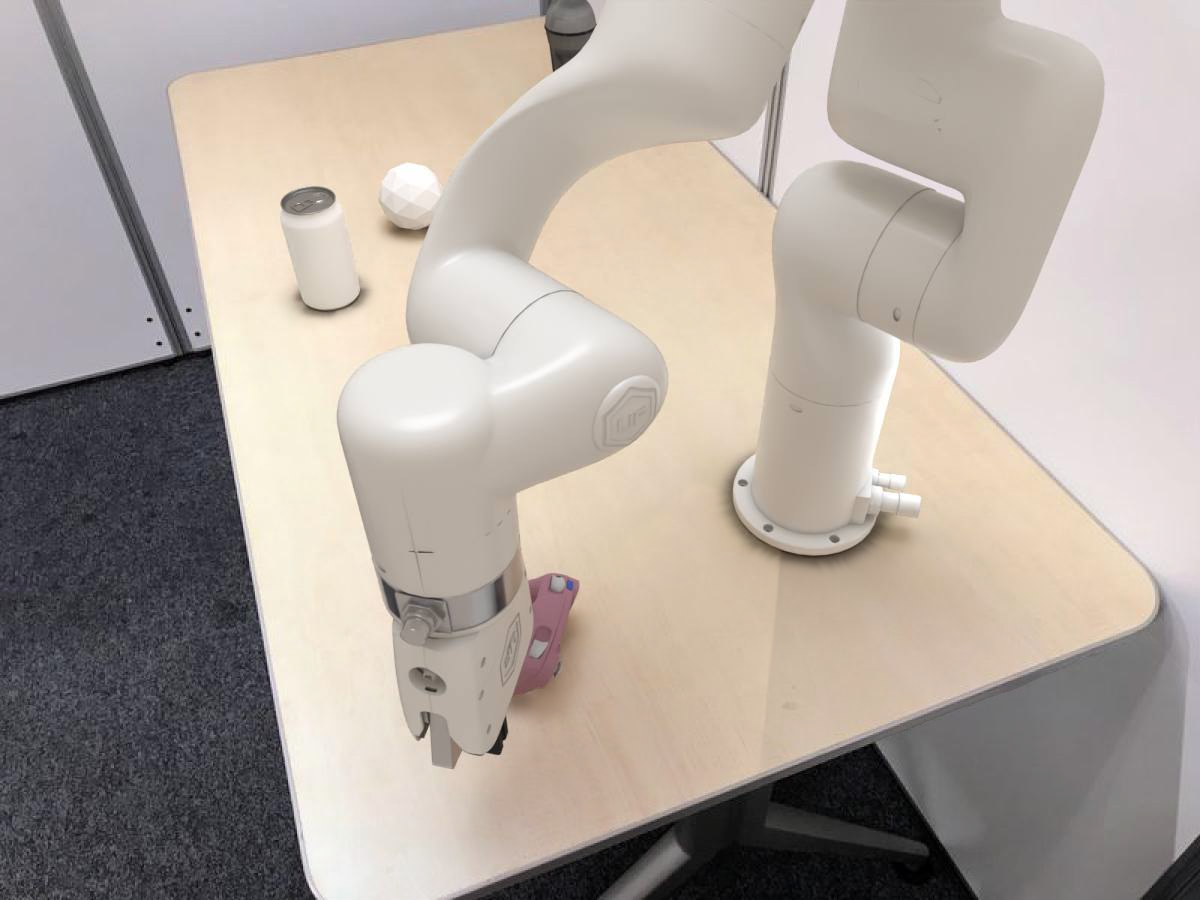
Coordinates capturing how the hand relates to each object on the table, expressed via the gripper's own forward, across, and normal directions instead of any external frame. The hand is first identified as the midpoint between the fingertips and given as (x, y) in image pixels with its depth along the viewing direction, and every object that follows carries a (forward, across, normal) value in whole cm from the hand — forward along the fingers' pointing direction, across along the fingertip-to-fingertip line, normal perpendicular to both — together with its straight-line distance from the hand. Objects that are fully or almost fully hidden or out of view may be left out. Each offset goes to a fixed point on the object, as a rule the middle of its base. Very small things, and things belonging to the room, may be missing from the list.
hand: (481, 740), depth 63 cm
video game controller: (+6, +11, 0) cm, 13 cm away
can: (+6, +51, +35) cm, 62 cm away
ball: (+6, +67, +31) cm, 74 cm away
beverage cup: (+5, +102, +20) cm, 104 cm away
